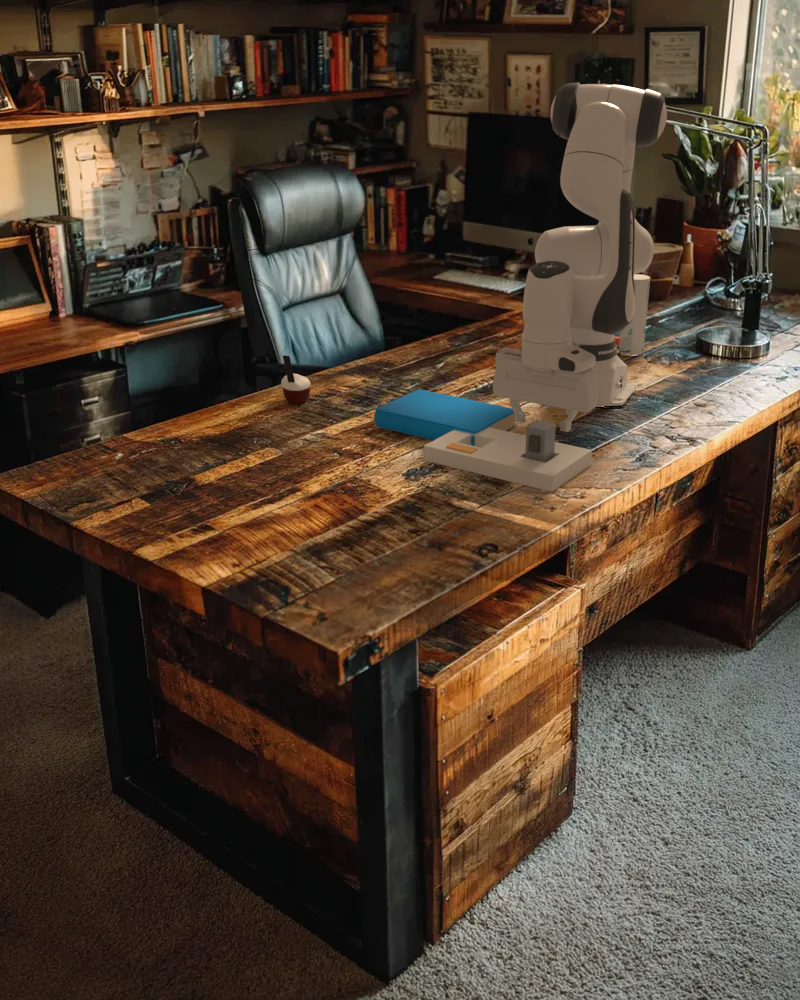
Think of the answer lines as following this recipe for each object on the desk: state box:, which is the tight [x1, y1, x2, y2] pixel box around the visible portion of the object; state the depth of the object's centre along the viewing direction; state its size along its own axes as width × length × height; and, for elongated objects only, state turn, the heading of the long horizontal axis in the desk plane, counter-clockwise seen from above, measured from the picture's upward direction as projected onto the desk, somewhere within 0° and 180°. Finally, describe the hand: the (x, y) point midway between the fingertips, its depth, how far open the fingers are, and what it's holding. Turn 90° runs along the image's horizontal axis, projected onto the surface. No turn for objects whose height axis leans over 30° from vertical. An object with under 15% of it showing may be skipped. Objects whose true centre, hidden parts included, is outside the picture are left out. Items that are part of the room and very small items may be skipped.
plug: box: [525, 420, 557, 463], centre depth 205 cm, size 5×4×9 cm
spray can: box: [618, 273, 651, 355], centre depth 279 cm, size 6×6×20 cm
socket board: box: [423, 427, 593, 493], centre depth 210 cm, size 16×28×4 cm, turn 55°
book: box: [373, 388, 517, 446], centre depth 230 cm, size 17×4×25 cm
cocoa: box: [280, 354, 312, 405], centre depth 246 cm, size 10×6×12 cm, turn 140°
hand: (542, 426), depth 203 cm, fingers open, 8 cm apart
